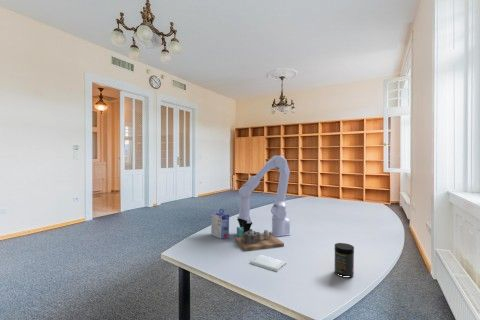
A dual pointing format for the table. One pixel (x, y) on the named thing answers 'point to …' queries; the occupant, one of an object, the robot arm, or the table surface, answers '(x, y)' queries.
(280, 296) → the table surface
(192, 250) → the table surface
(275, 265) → the hard drive
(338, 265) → the supplement container
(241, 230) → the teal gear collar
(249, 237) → the gear board
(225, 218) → the ink cartridge box
